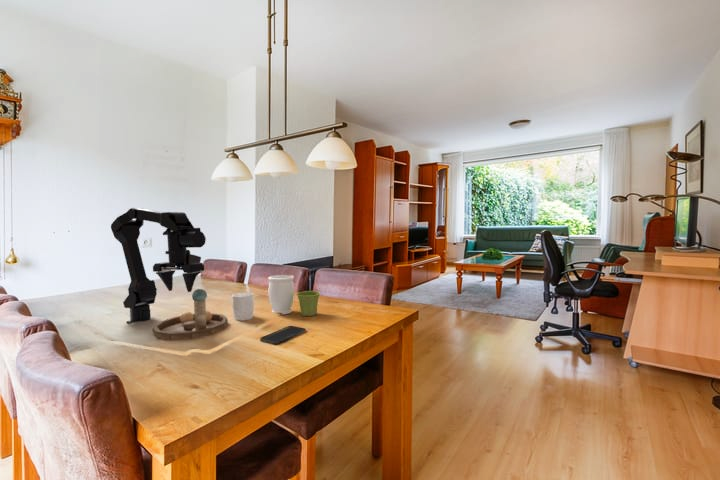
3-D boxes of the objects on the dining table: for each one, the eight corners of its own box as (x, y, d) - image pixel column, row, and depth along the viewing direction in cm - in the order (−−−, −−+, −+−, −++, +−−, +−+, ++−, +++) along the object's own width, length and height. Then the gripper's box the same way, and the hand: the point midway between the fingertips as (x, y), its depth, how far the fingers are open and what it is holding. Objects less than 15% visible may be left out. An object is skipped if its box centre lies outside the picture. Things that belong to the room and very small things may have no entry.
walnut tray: (137, 338, 110) (137, 329, 109) (192, 318, 131) (192, 311, 131) (191, 346, 102) (190, 336, 102) (240, 324, 123) (239, 316, 123)
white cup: (247, 323, 124) (246, 297, 123) (228, 322, 126) (227, 296, 125) (258, 317, 132) (257, 292, 131) (240, 316, 133) (239, 291, 133)
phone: (258, 338, 107) (289, 325, 120) (258, 342, 107) (289, 328, 120) (277, 342, 103) (307, 328, 116) (277, 346, 103) (307, 331, 116)
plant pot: (292, 314, 137) (292, 293, 136) (312, 309, 143) (312, 289, 142) (304, 319, 130) (304, 297, 129) (325, 314, 136) (324, 293, 135)
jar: (271, 309, 144) (270, 274, 143) (295, 308, 145) (295, 274, 144) (266, 316, 134) (265, 279, 133) (292, 315, 134) (292, 278, 133)
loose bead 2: (196, 323, 121) (195, 311, 121) (205, 320, 125) (205, 308, 125) (205, 325, 120) (205, 312, 119) (214, 321, 124) (214, 309, 123)
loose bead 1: (177, 324, 120) (176, 312, 120) (187, 321, 124) (186, 309, 124) (186, 326, 118) (186, 313, 118) (196, 322, 123) (196, 310, 122)
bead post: (189, 335, 109) (188, 290, 108) (196, 330, 114) (194, 287, 113) (205, 334, 109) (203, 290, 108) (211, 329, 114) (210, 287, 113)
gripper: (215, 245, 123) (217, 288, 124) (177, 246, 130) (180, 286, 131) (189, 248, 113) (192, 294, 113) (150, 248, 119) (153, 291, 120)
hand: (179, 291), depth 120 cm, fingers open, 9 cm apart
